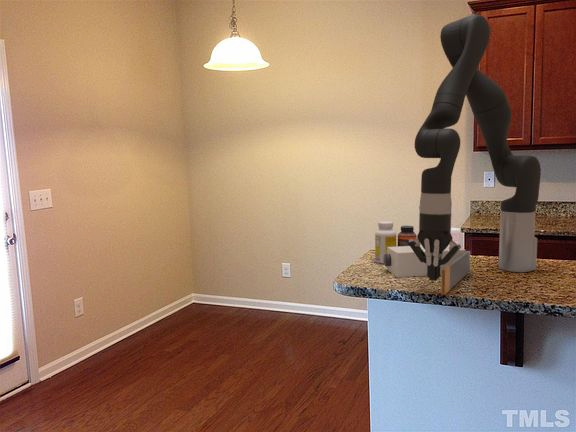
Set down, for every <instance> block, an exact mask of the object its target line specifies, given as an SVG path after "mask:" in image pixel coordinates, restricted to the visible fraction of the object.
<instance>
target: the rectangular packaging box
mask: <svg viewBox="0 0 576 432" xmlns="http://www.w3.org/2000/svg"><path fill="white" fill-rule="evenodd" d="M420 247H421V249H422V250H423V252H424V253H425V249H424V248H423V246H422V245H421V244H420ZM449 247H450V245H448V246H447V248H446V249H445V250H444V251H443V255H442V259H443V258H444V257H445V256H446V255H447V253H448V252H449V251H450V250H449ZM465 252H466V249H464V248H462V247H461V248H460V250H459V251H458V252H457V253H456V254H455V255H454V256H453V257H452V258H451V259H450V260H449V261H448V263H446V264H444V265H441V266H440V276H441V270H442V269H443V268H444V267H446V266H448V265H449V264H450V263H452V262H453V261H454V260H456V259H457V258H458V257H460V256H461V255H462V254H464V253H465ZM383 260H384V264H383V265H384V266H385V267H386V271H388V272H389V273H390V272H391V273H390V274H392V275H393V276H394V277H396V278H411V277H413V276H416V277H427V264H426V263H424V262H420V260H419V259H418V257H417V256H416V254H415V253H414V251H413V250H412V249H411V247H410V246H399V247H398V246H396V247H387V254H384V258H383ZM413 278H414V277H413Z"/></svg>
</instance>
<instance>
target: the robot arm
mask: <svg viewBox="0 0 576 432" xmlns="http://www.w3.org/2000/svg"><path fill="white" fill-rule="evenodd" d="M439 36H440V44H441V47H442V50H443V52H444V54H445V56H446V59H447V60H448V62H449V64H450V66H451V67H452V69H450V71H449V72H448V73H447V75H446V76H445V77H444V78H443V80H442V82H441V83H440V85H439V86H438V88H437V90H436V93H435V96H434V100H433V103H432V107H431V110H430V112H429V114H428V115H427V117H426V119H424V122H423V123H422V125H421V126H420V128H419V130H418V132H417V133H416V136H415V138H414V139H415V140H414V151H415V153H416V154H417V156H418V157H420V158H423V159H439V162H438V163H437V165H436V166H434V167H429V168H425V169H424V170H423V171H422V173H421V178H420V179H421V181H420V199H419V206H418V209H419V219H418V223H419V224H418V233H417V234H416V235H417V238H416V239H415V240H413V241H411V242H409V246H410V247H411V249H412V250H413V251H414V253H415V254H416V256H417V257H418V259H419V260H420V262H424V263H426V264H427V276H426V277H427V278H428V279H429V281H434V282H436V281H437V280H438V279H440V278H441V275H440V266H441V265H444V264H446V263H448V261H449V260H450V259H451V258H452V257H453V256H454V255H455V254H456V253H457V252H458V251H459V250H460V248H462V246H461V245H460V244H458V245H457V244H456V243H455V242H454V241H452V236H451V214H452V207H453V206H452V175H453V172H454V168H455V164H456V161H457V159H458V158H457V157H458V155H459V152H460V149H461V137H460V133H458V131H457V130H456V129H453V128H449V127H453V126H455V125H457V124H458V122H459V120H460V118H461V114H462V111H463V110H462V109H463V108H464V107H463V106H464V103H465V99H466V98H467V101H468V104H469V107H470V108H471V112H472V113H473V117H474V119H475V121H476V124H477V125H478V128H479V130H480V133H481V135H482V138H483V141H484V143H485V146H486V149H487V151H488V155H489V159H490V161H491V165H492V168H493V172H494V175H495V177H496V180H497V181H498V183H499V184H500V185H501V186H503V187H507V188H508V187H509V188H516V189H515V193H514V195H513V196H511V197H510V198H507V199H503V200H502V201H501V202H500V215H499V216H500V217H499V220H500V222H499V245H498V246H499V247H498V250H499V251H498V269H499V270H502V271H506V272H514V273H527V272H532V271H536V270H537V255H538V253H537V252H538V238H537V237H536V236H535V231H536V229H535V228H536V209H537V207H536V206H537V204H538V201H539V196H540V195H539V194H540V185H541V175H542V171H541V170H542V169H541V163H540V161H539V159H538V158H537V157H536V156H534V155H515V154H513V153H512V150H511V148H510V146H509V142H508V134H509V130H510V126H511V123H512V116H513V115H512V109H511V105H510V103H509V100H508V98H507V94H506V93H505V90H503V88H502V87H501V86H500V85H499V84H497V82H495V81H494V80H493V79H492V78H490V77H489V76H487V75H486V74H485V73H483V72H482V71H481V69H479V66H480V63H481V61H482V59H483V57H484V55H485V53H486V50H487V48H488V46H489V42H490V38H491V28H490V24H489V22H488V20H487V18H485V16H483V15H482V14H479V13H478V14H472V15H468V16H466V17H463V18H459V19H457V20H455V21H452V22H449V23H447V24H445V25H444V26H443V27H442V28H441V31H440V35H439ZM421 245H422V246H423V248H424V249H425V253H424V252H423V250H422V249H421V247H420V246H421ZM448 245H450V247H449V250H450V251H449V252H448V253H447V255H446V256H445V257H444V258H443V259H442V255H443V251H444V250H445V249H446V248H447V246H448Z"/></svg>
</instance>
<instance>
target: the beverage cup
mask: <svg viewBox="0 0 576 432" xmlns="http://www.w3.org/2000/svg"><path fill="white" fill-rule="evenodd" d="M452 217H453V214H452V213H451V236H452V241H454V242H455V243H456V244H457V245H458V244H459V241H460V233H461V228H458V227H453V226H452V225H453V218H452ZM459 245H460V244H459Z"/></svg>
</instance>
